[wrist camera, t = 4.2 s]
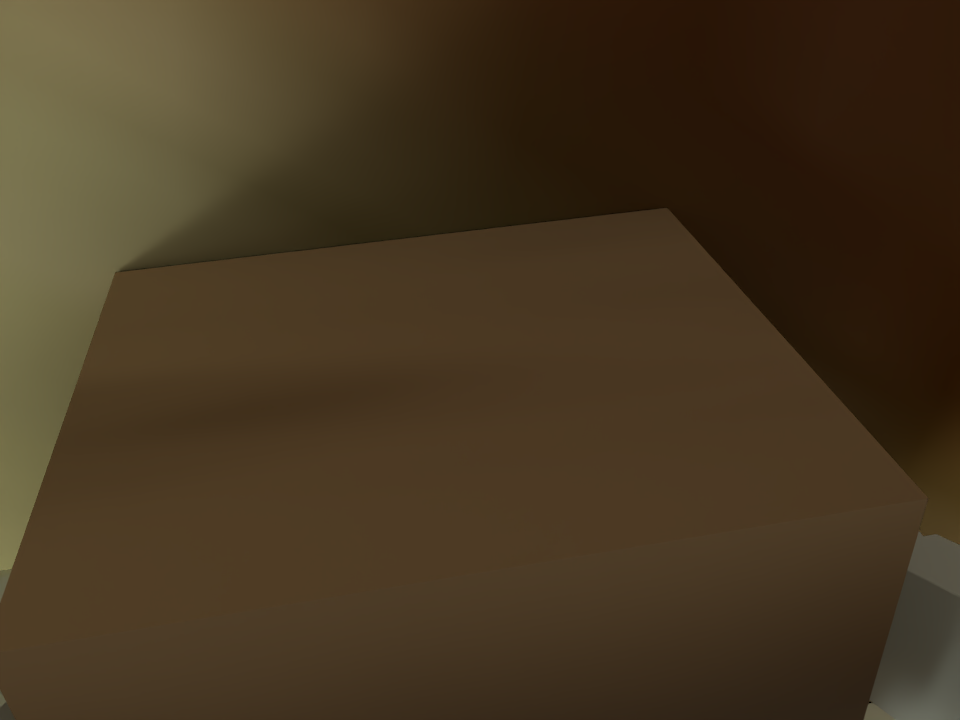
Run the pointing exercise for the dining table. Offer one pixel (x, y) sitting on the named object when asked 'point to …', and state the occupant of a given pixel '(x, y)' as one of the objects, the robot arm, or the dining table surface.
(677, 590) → the walnut block
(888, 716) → the plate
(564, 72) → the dining table surface
